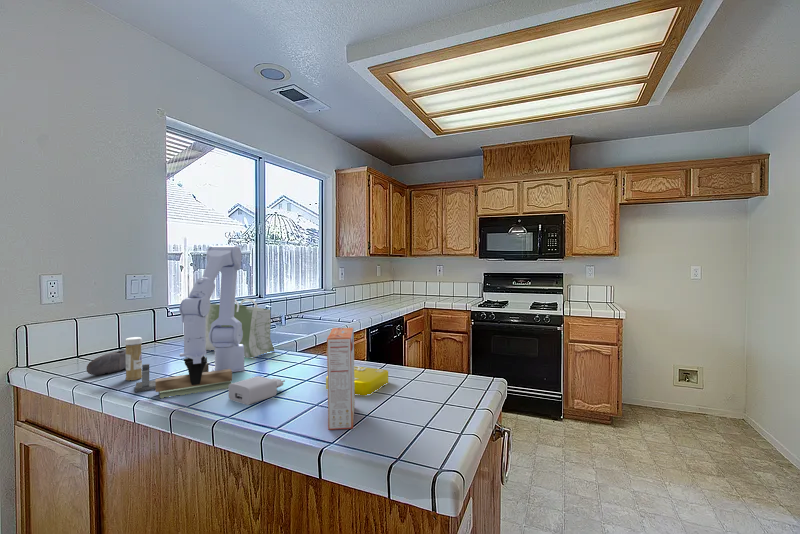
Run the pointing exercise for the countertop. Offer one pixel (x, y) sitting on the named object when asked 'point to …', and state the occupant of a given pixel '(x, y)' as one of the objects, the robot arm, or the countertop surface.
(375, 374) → the element tile
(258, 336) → the grocery bag
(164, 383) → the rail
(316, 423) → the countertop surface
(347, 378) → the cracker box
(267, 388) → the charger
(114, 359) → the perforated stone tool
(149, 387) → the rail rack
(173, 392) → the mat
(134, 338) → the sprinkles bottle
